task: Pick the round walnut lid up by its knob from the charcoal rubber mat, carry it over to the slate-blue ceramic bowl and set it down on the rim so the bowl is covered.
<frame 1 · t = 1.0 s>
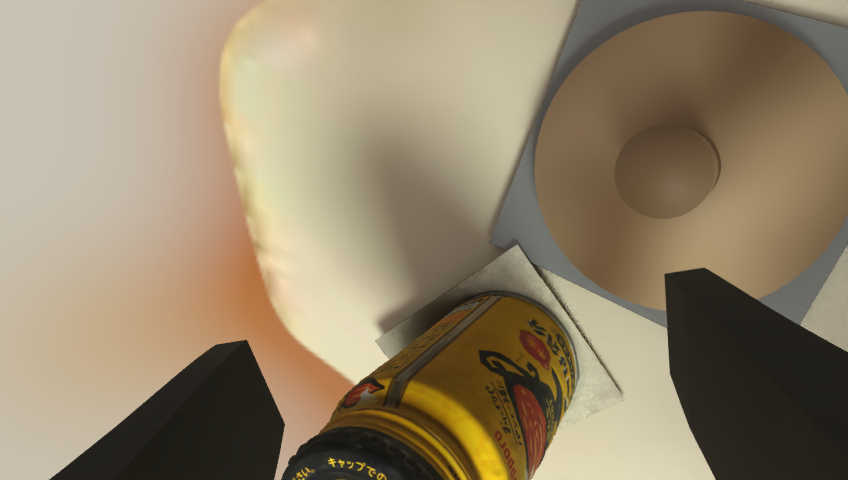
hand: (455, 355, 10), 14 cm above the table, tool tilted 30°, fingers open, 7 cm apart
mat: (681, 166, 21), on the table
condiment: (492, 363, 26), on the table, touching mat
lid: (680, 166, 21), resting on mat
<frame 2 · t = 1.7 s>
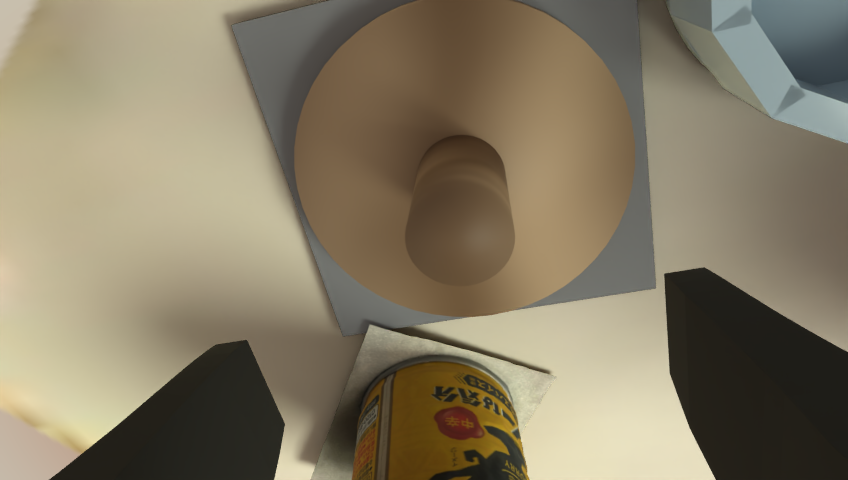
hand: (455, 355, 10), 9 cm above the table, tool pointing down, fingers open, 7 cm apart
mat: (461, 163, 19), on the table
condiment: (426, 422, 24), on the table, touching mat
lid: (461, 167, 18), resting on mat
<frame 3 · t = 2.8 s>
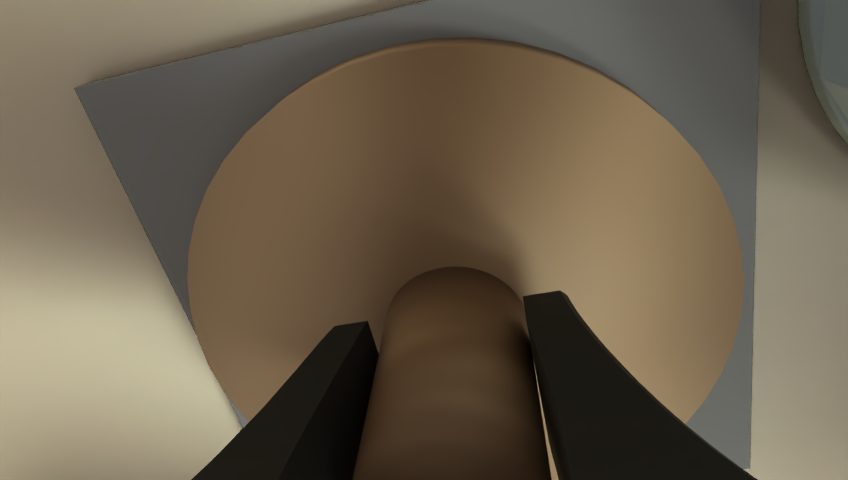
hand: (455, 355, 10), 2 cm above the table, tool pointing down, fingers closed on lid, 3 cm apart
mat: (457, 292, 12), on the table
lid: (457, 303, 12), resting on mat, touching gripper
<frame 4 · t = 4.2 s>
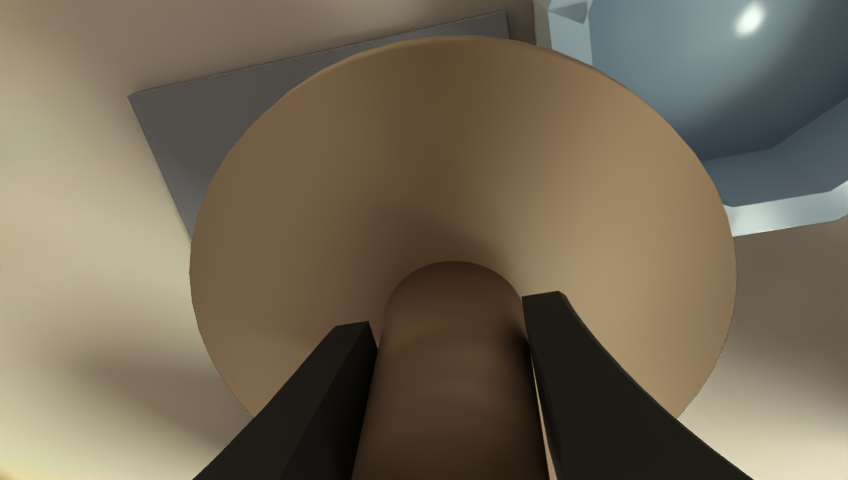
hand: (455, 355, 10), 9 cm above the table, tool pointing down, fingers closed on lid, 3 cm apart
bowl: (719, 2, 15), on the table
mat: (361, 225, 19), on the table
lid: (455, 297, 12), point 7 cm above the table, touching gripper
when the fingers open (7 cm above the table, at t = 5.3 s): lid stays where it is, resting on bowl.
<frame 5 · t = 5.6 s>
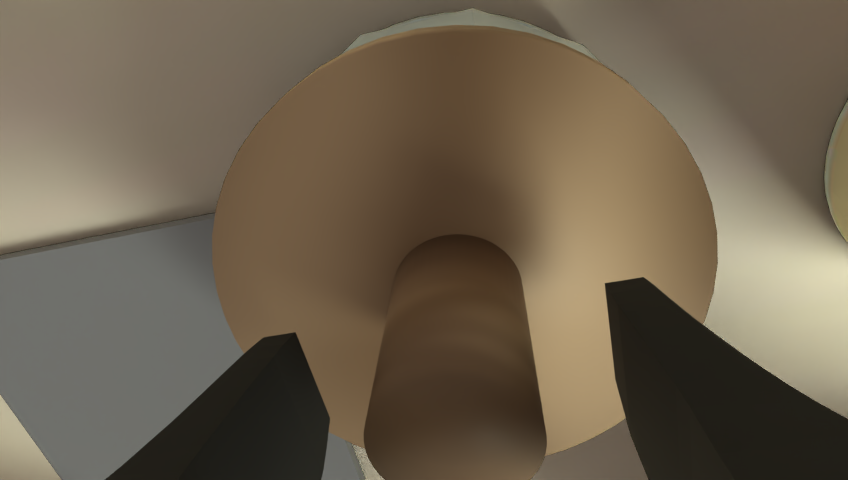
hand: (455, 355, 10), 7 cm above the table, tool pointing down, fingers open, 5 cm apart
bowl: (459, 200, 16), on the table
mat: (162, 382, 20), on the table
lid: (458, 271, 13), point 4 cm above the table, touching bowl
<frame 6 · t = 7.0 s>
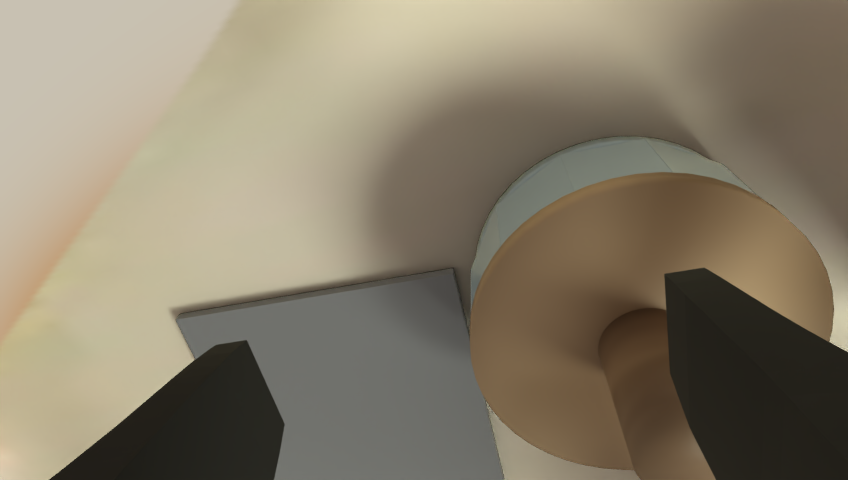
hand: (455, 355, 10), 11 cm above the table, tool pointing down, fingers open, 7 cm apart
bowl: (610, 266, 21), on the table
mat: (351, 401, 25), on the table
lid: (637, 329, 18), point 4 cm above the table, touching bowl
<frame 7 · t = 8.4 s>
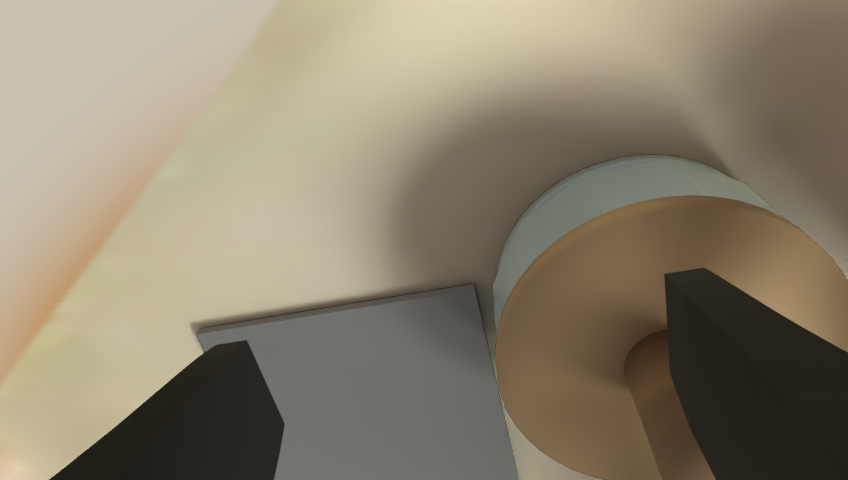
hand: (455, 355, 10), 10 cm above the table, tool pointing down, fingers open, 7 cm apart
bowl: (630, 282, 21), on the table
mat: (370, 413, 25), on the table
lid: (662, 347, 18), point 4 cm above the table, touching bowl
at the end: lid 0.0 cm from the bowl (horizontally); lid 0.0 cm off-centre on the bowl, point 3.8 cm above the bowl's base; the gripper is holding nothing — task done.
